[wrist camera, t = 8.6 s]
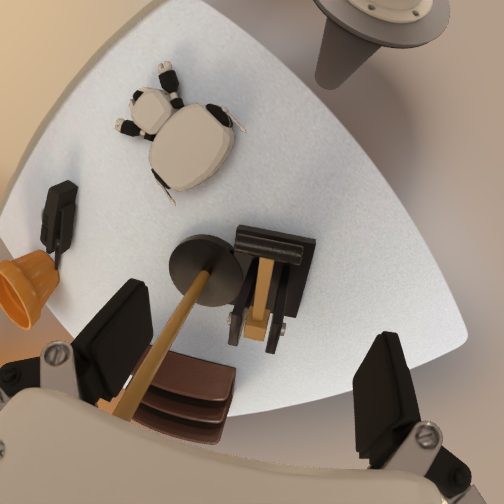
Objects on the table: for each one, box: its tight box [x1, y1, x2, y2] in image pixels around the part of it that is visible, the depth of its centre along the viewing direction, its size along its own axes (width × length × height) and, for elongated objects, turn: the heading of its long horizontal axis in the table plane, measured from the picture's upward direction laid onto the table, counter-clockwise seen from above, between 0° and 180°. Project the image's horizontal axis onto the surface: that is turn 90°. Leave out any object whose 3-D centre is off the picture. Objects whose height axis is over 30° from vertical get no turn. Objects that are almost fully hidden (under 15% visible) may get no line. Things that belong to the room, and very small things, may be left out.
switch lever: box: [234, 234, 303, 342], centre depth 25 cm, size 13×5×2 cm, turn 172°
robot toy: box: [115, 61, 246, 206], centre depth 30 cm, size 12×4×15 cm
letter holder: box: [125, 345, 236, 445], centre depth 46 cm, size 10×20×14 cm, turn 84°
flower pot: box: [0, 250, 59, 330], centre depth 43 cm, size 14×14×13 cm
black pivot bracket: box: [227, 225, 316, 354], centre depth 33 cm, size 12×10×13 cm
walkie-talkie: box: [40, 180, 77, 270], centre depth 40 cm, size 6×6×20 cm
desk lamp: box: [112, 235, 243, 422], centre depth 24 cm, size 13×13×38 cm
